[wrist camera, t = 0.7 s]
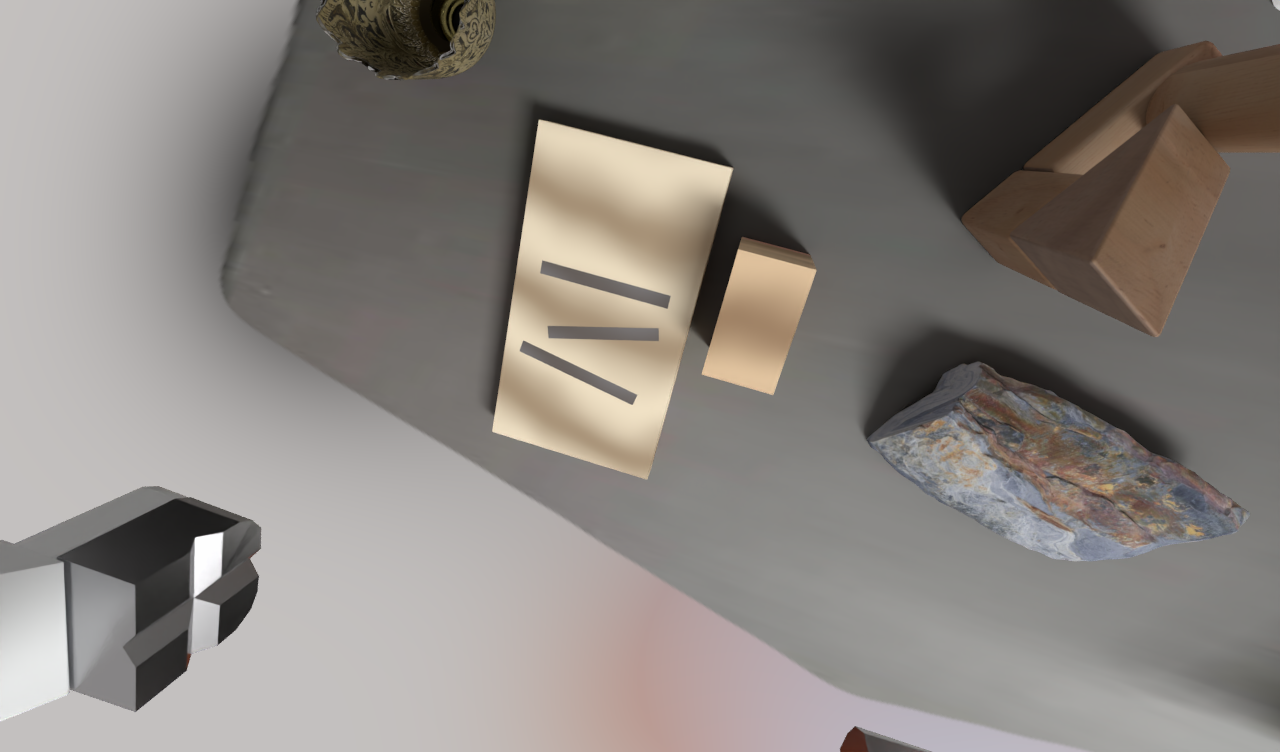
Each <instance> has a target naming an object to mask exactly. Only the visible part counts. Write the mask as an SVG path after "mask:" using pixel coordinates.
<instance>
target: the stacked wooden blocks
mask: <svg viewBox="0 0 1280 752" xmlns="http://www.w3.org/2000/svg"><path fill="white" fill-rule="evenodd" d="M1217 152H1280V44H1278V45H1273V46H1269V47H1264V48H1259V49H1254V50H1250V51H1245V52H1240V53H1235V54H1231V55H1226V56H1222V54H1221V53H1220V52H1219V51H1218V49H1217V48H1216V47H1215V46H1214V44H1213V43H1211V42H1209V41H1203V42H1199V43H1195V44H1191V45H1187V46H1183V47H1180V48H1176V49H1172V50H1168V51H1164V52H1161V53H1159V54H1156V55H1155V56H1154V57H1153V58H1152V59H1150V60H1149V61H1148V62H1147V63H1146V64H1144V65H1143V66H1142V67H1141V68H1140V69H1138V70H1137V71H1136V72H1135V73H1134V74H1132V75H1131V76H1130V77H1129V78H1128V79H1126V80H1125V81H1124V82H1123V83H1122V84H1120V85H1119V86H1118V87H1117V88H1115V89H1114V90H1113V91H1112V92H1111V93H1109V94H1108V95H1107V96H1106V97H1105V98H1103V99H1102V100H1101V101H1100V102H1099V103H1097V104H1096V105H1095V106H1094V107H1093V108H1091V109H1090V110H1089V111H1088V112H1087V113H1085V114H1084V115H1083V116H1082V117H1081V118H1079V119H1078V120H1077V121H1076V122H1074V123H1073V124H1072V125H1071V126H1070V127H1068V128H1067V129H1066V130H1065V131H1064V132H1062V133H1061V134H1060V135H1059V136H1058V137H1056V138H1055V139H1054V140H1053V141H1052V142H1050V143H1049V144H1048V145H1047V146H1046V147H1044V148H1043V149H1042V150H1041V151H1040V152H1038V153H1037V154H1036V155H1035V156H1033V157H1032V158H1031V159H1030V160H1029V161H1027V162H1026V164H1025V165H1024V167H1023V168H1024V170H1019V171H1017V172H1014V173H1013V174H1012V175H1010V176H1009V177H1008V178H1007V179H1006V180H1004V181H1003V182H1002V183H1001V184H1000V185H998V186H997V187H996V188H995V189H993V190H992V191H991V192H990V193H989V194H987V195H986V196H985V197H984V198H983V199H981V200H980V201H979V202H978V203H977V204H975V205H974V206H973V207H972V208H971V209H969V210H968V211H967V212H966V213H965V214H964V215H963V217H962V218H961V219H962V223H963V224H964V226H965V227H966V228H967V229H968V230H969V231H970V232H971V233H972V235H973V236H974V237H975V238H976V239H977V240H978V241H979V242H980V243H981V245H982V246H983V247H984V248H985V249H986V250H987V251H988V252H989V254H990V255H991V256H992V257H993V258H994V259H995V260H996V261H997V262H998V263H1000V264H1002V265H1004V266H1006V267H1008V268H1010V269H1013V270H1015V271H1017V272H1019V273H1021V274H1023V275H1025V276H1027V277H1029V278H1032V279H1034V280H1036V281H1038V282H1040V283H1042V284H1044V285H1046V286H1048V287H1051V288H1053V289H1055V290H1058V291H1059V292H1060V293H1062V294H1064V295H1067V296H1069V297H1071V298H1073V299H1075V300H1077V301H1079V302H1081V303H1083V304H1085V305H1087V306H1090V307H1092V308H1094V309H1096V310H1098V311H1100V312H1102V313H1104V314H1106V315H1108V316H1111V317H1113V318H1115V319H1117V320H1119V321H1121V322H1123V323H1125V324H1127V325H1129V326H1131V327H1134V328H1136V329H1138V330H1140V331H1142V332H1144V333H1146V334H1148V335H1150V336H1153V337H1158V336H1159V335H1160V334H1161V332H1162V329H1163V327H1164V325H1165V322H1166V320H1167V318H1168V315H1169V313H1170V311H1171V308H1172V306H1173V304H1174V301H1175V299H1176V297H1177V294H1178V292H1179V290H1180V287H1181V285H1182V283H1183V280H1184V278H1185V276H1186V273H1187V271H1188V269H1189V266H1190V264H1191V262H1192V259H1193V257H1194V255H1195V252H1196V250H1197V248H1198V245H1199V243H1200V241H1201V238H1202V236H1203V234H1204V231H1205V229H1206V227H1207V224H1208V222H1209V220H1210V217H1211V215H1212V213H1213V210H1214V208H1215V206H1216V203H1217V201H1218V199H1219V196H1220V194H1221V192H1222V189H1223V187H1224V185H1225V182H1226V180H1227V178H1228V175H1229V173H1230V168H1229V166H1228V165H1227V164H1226V163H1225V161H1224V160H1223V159H1222V158H1221V157H1220V155H1219V154H1218V153H1217Z"/></svg>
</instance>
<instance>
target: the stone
mask: <svg viewBox="0 0 1280 752" xmlns="http://www.w3.org/2000/svg"><path fill="white" fill-rule="evenodd" d="M867 441H868V443H869V444H870V446H871V447H872V448H873V449H875V450H876V451H878V452H879V453H881V454H882V456H883V457H884V459H885V460H886V461H887V462H888V463H889V464H890V465H891V466H892V467H893V468H894V469H895V470H896V471H898V472H899V473H900V474H901V475H903V476H904V477H906V478H907V479H909V480H910V481H912V482H913V483H914V484H916V485H917V486H919V487H920V488H921V489H922V490H923V491H924V492H925V493H926V494H927V495H930V496H932V497H934V498H936V499H937V500H938V501H939V502H941V503H943V504H945V505H947V506H950V507H952V508H954V509H956V510H958V511H959V512H961V513H963V514H965V515H967V516H969V517H971V518H972V519H974V520H976V521H977V522H978V523H980V524H981V525H983V526H985V527H987V528H988V529H990V530H992V531H993V532H995V533H997V534H999V535H1001V536H1003V537H1005V538H1007V539H1009V540H1011V541H1013V542H1015V543H1017V544H1020V545H1022V546H1024V547H1026V548H1028V549H1031V550H1035V551H1038V552H1040V553H1042V554H1044V555H1046V556H1048V557H1050V558H1053V559H1063V560H1070V561H1077V562H1078V561H1097V560H1105V559H1123V558H1130V557H1133V556H1137V555H1139V554H1143V553H1146V552H1149V551H1151V550H1153V549H1156V548H1158V547H1161V546H1166V545H1170V544H1177V543H1185V542H1195V541H1201V540H1206V539H1210V538H1214V537H1218V536H1222V535H1228V534H1232V533H1235V532H1237V531H1238V530H1239V528H1240V526H1241V525H1242V524H1243V523H1244V522H1245V521H1246V520H1247V519H1248V517H1249V515H1250V513H1249V512H1248V511H1247V510H1245V509H1244V508H1242V507H1241V506H1239V505H1238V504H1237V503H1236V502H1234V501H1233V500H1232V499H1231V498H1229V497H1226V495H1224V494H1222V493H1220V492H1219V491H1218V490H1217V489H1215V488H1214V487H1213V486H1212V485H1210V484H1209V483H1207V482H1205V481H1204V480H1203V479H1202V478H1200V477H1199V476H1198V475H1197V474H1196V473H1195V472H1193V471H1191V470H1189V469H1187V468H1185V467H1184V466H1182V465H1181V464H1179V463H1177V462H1175V461H1173V460H1171V459H1169V458H1167V457H1164V456H1161V455H1158V454H1155V453H1151V452H1150V451H1148V450H1147V449H1146V448H1144V447H1143V446H1142V445H1140V444H1139V443H1138V442H1136V441H1135V440H1134V439H1133V438H1132V437H1131V436H1130V435H1129V434H1128V433H1126V432H1125V431H1123V430H1121V429H1118V428H1116V427H1114V426H1112V425H1111V424H1109V423H1107V422H1105V421H1104V420H1102V419H1100V418H1098V417H1097V416H1095V415H1093V414H1091V413H1089V412H1087V411H1085V410H1083V409H1081V408H1080V407H1079V406H1077V405H1075V404H1073V403H1071V402H1069V401H1067V400H1065V399H1062V398H1060V397H1058V396H1057V395H1056V394H1055V393H1054V392H1052V391H1050V390H1045V389H1042V388H1040V387H1037V386H1035V385H1031V384H1028V383H1025V382H1019V381H1017V380H1015V379H1012V378H1010V377H1005V376H1001V375H999V374H997V373H996V372H995V369H994V368H992V367H990V366H988V365H986V364H984V363H981V362H979V361H978V362H974V363H971V364H969V365H966V364H964V363H963V364H960V365H959V366H958V367H955V368H953V369H951V370H949V371H947V372H945V373H943V375H942V377H941V379H940V380H939V382H938V384H937V386H936V388H935V390H934V391H933V393H931V394H929V395H927V396H926V397H924V398H922V399H921V400H919V401H918V402H916V403H914V404H913V405H911V406H909V407H907V408H906V409H904V410H902V411H901V412H899V413H897V414H895V415H894V416H893V417H892V418H890V419H889V420H888V421H887V422H886V423H885V424H883V425H882V426H881V427H880V428H879V429H877V430H876V431H875V432H874V433H873V434H872V435H870V436H869V437H868V438H867Z"/></svg>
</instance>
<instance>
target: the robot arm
mask: <svg viewBox="0 0 1280 752" xmlns="http://www.w3.org/2000/svg"><path fill="white" fill-rule="evenodd" d="M260 549H261V527H259V525H257V524H256V523H255V522H254V521H253V520H250V519H247V518H245V517H242V516H239V515H237V514H234V513H231V512H228V511H226V510H223V509H220V508H218V507H215V506H212V505H210V504H207V503H204V502H201V501H199V500H196V499H194V498H191V497H190V498H188V497H186V496H183V495H180V494H178V493H175V492H172V491H170V490H167V489H164V488H162V487H159V486H157V487H156V486H154V487H141V488H139V489H137V490H134V491H132V492H130V493H128V494H125V495H123V496H121V497H119V498H116V499H114V500H112V501H110V502H107V503H105V504H103V505H101V506H99V507H96V508H94V509H92V510H89V511H87V512H85V513H83V514H80V515H78V516H76V517H74V518H71V519H69V520H67V521H65V522H62V523H60V524H58V525H56V526H53V527H51V528H49V529H47V530H45V531H42V532H40V533H38V534H36V535H33V536H31V537H29V538H26V539H24V540H22V541H20V542H17V543H15V544H13V543H10V542H7V541H4V540H1V541H0V722H1V721H3V720H5V719H8V718H10V717H13V716H16V715H18V714H20V713H23V712H25V711H28V710H31V709H33V708H36V707H38V706H40V705H43V704H46V703H48V702H51V701H53V700H55V699H58V698H61V697H63V696H66V695H68V694H69V693H70V690H73V691H76V692H79V693H82V694H84V695H88V696H90V697H93V698H96V699H99V700H102V701H105V702H108V703H111V704H114V705H117V706H120V707H122V708H125V709H128V710H131V711H134V712H136V711H137V710H139V709H140V708H141V707H142V706H144V705H145V704H146V703H147V702H148V701H150V700H151V699H152V698H153V697H155V696H156V695H157V694H158V693H160V692H161V691H162V690H163V689H165V688H166V687H167V686H168V685H170V684H171V683H172V682H173V681H174V680H176V679H177V678H178V677H179V676H181V675H182V674H183V673H184V672H186V671H187V667H188V664H189V660H190V657H191V654H193V653H196V652H199V651H202V650H205V649H208V648H211V647H214V646H218V645H219V644H220V643H221V642H222V641H223V640H224V639H226V638H227V637H228V636H229V635H230V634H232V633H233V632H234V631H235V630H236V629H237V628H238V626H239V625H240V624H241V622H242V621H243V619H244V618H245V617H246V615H247V614H248V612H249V611H250V609H251V608H252V605H253V602H254V599H255V597H256V594H257V591H258V579H259V576H258V574H257V572H256V570H255V568H254V566H253V564H252V562H251V560H250V558H251V557H252V556H253V555H254V554H255V553H256V552H258V551H259V550H260ZM840 752H931V751H928V750H925V749H922V748H919V747H916V746H913V745H910V744H907V743H904V742H901V741H898V740H895V739H892V738H889V737H886V736H883V735H880V734H877V733H874V732H871V731H868V730H865V729H862V728H859V727H856V726H855V727H854V728H853V729H852V730H851V731H850V732H848V733H847V735H846V737H845V739H844V742H843V744H842V746H841V748H840Z"/></svg>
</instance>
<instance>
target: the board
mask: <svg viewBox="0 0 1280 752" xmlns="http://www.w3.org/2000/svg"><path fill="white" fill-rule="evenodd" d="M733 169H734V168H732V167H729V166H725V165H721V164H717V163H713V162H709V161H705V160H701V159H697V158H693V157H689V156H685V155H681V154H677V153H673V152H669V151H665V150H661V149H657V148H653V147H649V146H645V145H641V144H637V143H634V142H630V141H626V140H622V139H618V138H614V137H610V136H606V135H602V134H598V133H594V132H590V131H586V130H582V129H578V128H574V127H570V126H566V125H562V124H558V123H554V122H550V121H545V120H539V122H538V129H537V136H536V142H535V149H534V156H533V162H532V169H531V176H530V182H529V189H528V196H527V203H526V209H525V216H524V223H523V229H522V236H521V243H520V250H519V256H518V263H517V270H516V276H515V283H514V290H513V296H512V303H511V310H510V317H509V323H508V330H507V337H506V343H505V350H504V357H503V363H502V370H501V377H500V384H499V390H498V397H497V404H496V410H495V417H494V424H493V430H492V432H495V433H498V434H501V435H505V436H508V437H511V438H514V439H518V440H521V441H524V442H527V443H531V444H534V445H537V446H540V447H543V448H547V449H550V450H553V451H556V452H560V453H563V454H566V455H569V456H573V457H576V458H579V459H582V460H585V461H589V462H592V463H595V464H598V465H602V466H605V467H608V468H611V469H615V470H618V471H621V472H624V473H627V474H631V475H634V476H637V477H640V478H644V479H647V478H648V476H649V473H650V470H651V467H652V463H653V460H654V456H655V452H656V449H657V445H658V442H659V438H660V434H661V431H662V427H663V423H664V420H665V416H666V412H667V409H668V405H669V402H670V398H671V394H672V391H673V387H674V383H675V380H676V376H677V372H678V369H679V365H680V362H681V358H682V354H683V351H684V347H685V343H686V340H687V336H688V332H689V329H690V325H691V321H692V318H693V314H694V311H695V307H696V303H697V300H698V296H699V292H700V289H701V285H702V281H703V278H704V274H705V271H706V267H707V263H708V260H709V256H710V252H711V249H712V245H713V241H714V238H715V234H716V231H717V227H718V223H719V220H720V216H721V212H722V209H723V205H724V201H725V198H726V194H727V191H728V187H729V183H730V180H731V176H732V172H733Z"/></svg>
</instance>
